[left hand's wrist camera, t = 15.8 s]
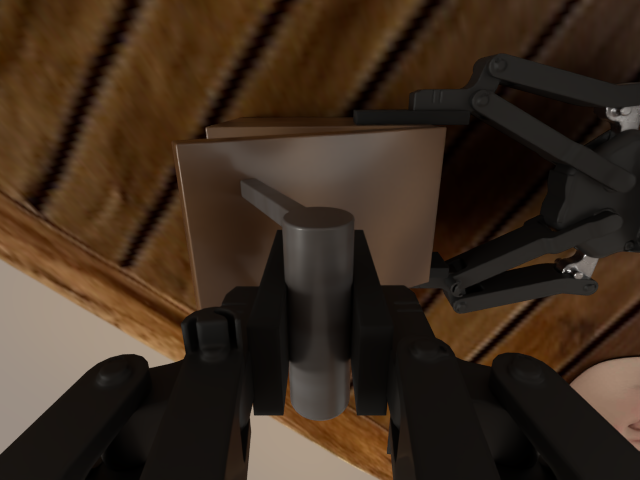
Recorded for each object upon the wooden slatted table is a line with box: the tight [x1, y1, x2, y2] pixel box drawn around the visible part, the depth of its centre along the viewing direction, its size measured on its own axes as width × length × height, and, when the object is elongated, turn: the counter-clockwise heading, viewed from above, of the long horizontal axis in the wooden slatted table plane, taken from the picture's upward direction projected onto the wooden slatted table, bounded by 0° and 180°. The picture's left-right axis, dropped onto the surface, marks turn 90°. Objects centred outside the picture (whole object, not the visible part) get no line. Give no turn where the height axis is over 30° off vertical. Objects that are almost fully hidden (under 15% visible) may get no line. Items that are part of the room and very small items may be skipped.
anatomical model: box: [570, 357, 640, 451], centre depth 37 cm, size 13×4×12 cm
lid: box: [172, 126, 447, 421], centre depth 16 cm, size 14×9×8 cm
